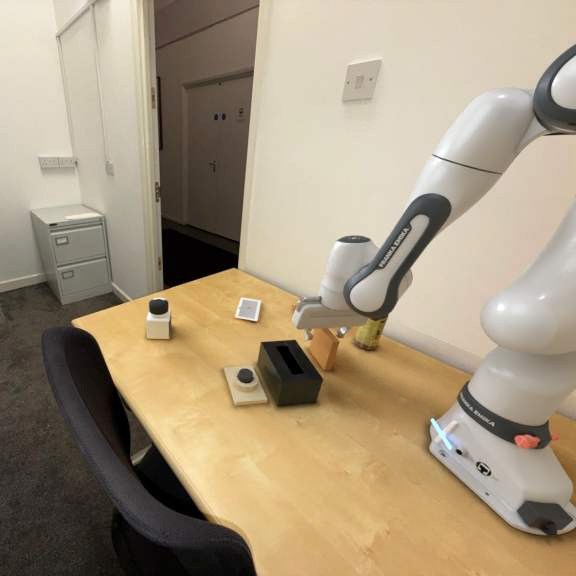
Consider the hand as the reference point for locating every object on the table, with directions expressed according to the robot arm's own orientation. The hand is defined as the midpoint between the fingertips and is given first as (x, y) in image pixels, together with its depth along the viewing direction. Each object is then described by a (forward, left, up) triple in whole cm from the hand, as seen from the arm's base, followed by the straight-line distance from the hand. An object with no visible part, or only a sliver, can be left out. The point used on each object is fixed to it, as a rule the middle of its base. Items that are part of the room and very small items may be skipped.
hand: (323, 338), depth 84 cm
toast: (-1, 0, -7) cm, 7 cm away
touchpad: (+27, +13, -8) cm, 31 cm away
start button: (-8, +25, -5) cm, 27 cm away
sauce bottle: (+4, -18, -8) cm, 20 cm away
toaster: (-8, +14, -7) cm, 18 cm away
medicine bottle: (+17, +46, -8) cm, 50 cm away
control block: (-8, +25, -7) cm, 27 cm away
